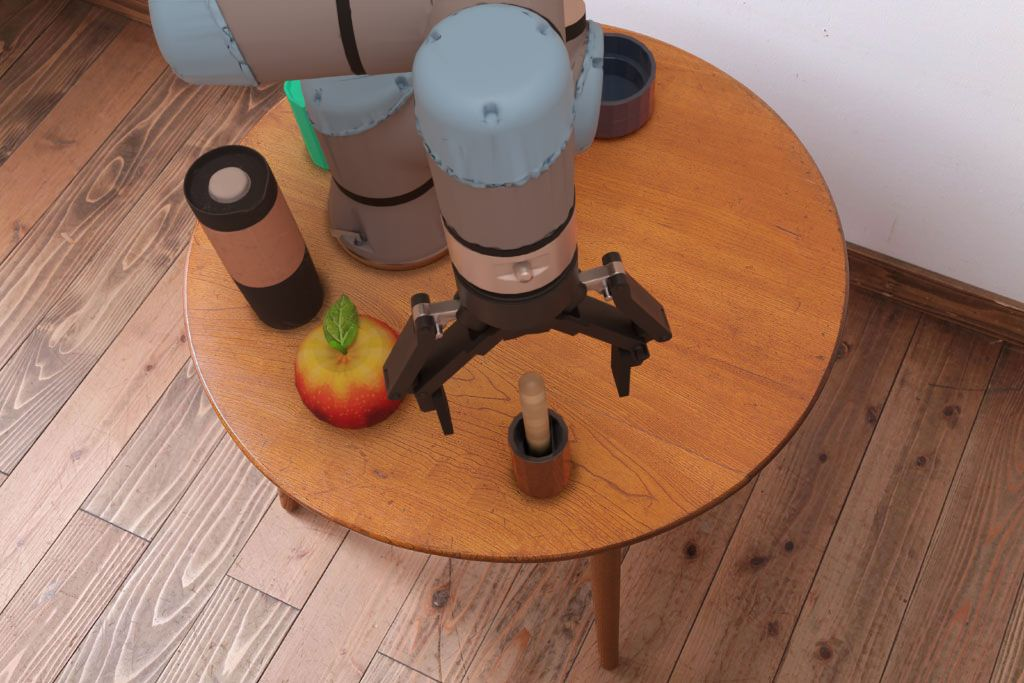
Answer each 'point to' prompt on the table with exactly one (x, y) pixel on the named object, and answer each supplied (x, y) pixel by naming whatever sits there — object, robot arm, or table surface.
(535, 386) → the stick
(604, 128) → the bowl
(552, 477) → the holder
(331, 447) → the table surface
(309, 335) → the fruit
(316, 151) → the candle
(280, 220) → the travel mug
